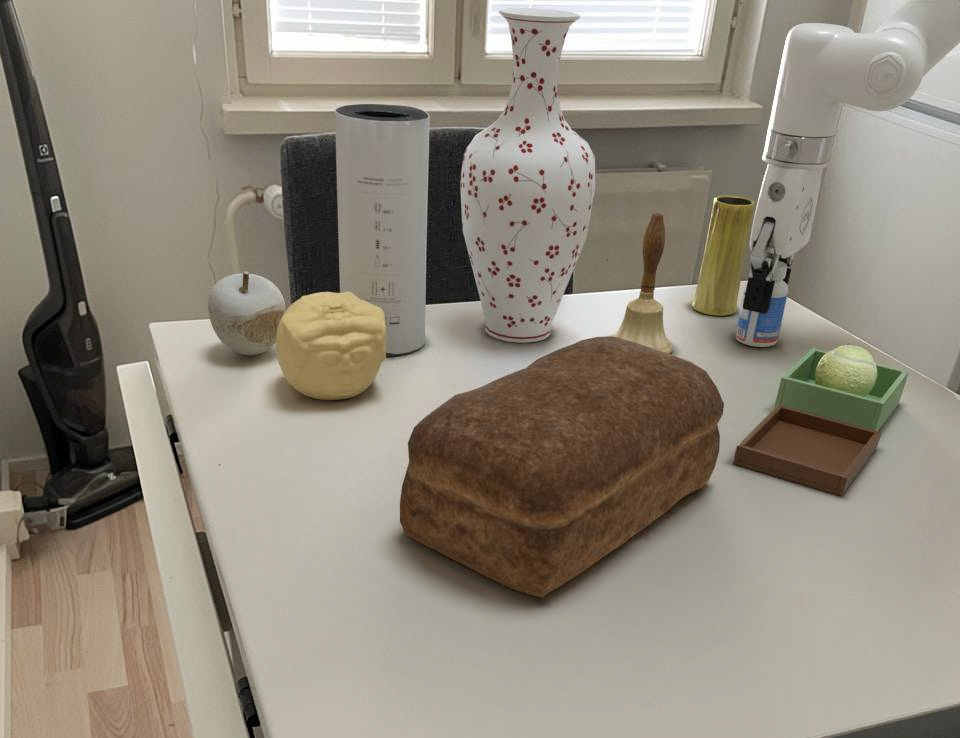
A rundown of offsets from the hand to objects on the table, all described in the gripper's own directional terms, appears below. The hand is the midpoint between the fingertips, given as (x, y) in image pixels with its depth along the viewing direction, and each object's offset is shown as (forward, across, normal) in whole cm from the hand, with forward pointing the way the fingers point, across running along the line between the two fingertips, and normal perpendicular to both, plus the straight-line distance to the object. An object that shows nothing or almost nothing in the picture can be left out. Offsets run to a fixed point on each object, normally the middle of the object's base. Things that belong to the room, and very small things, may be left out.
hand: (763, 302), depth 126 cm
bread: (+5, -54, -1) cm, 54 cm away
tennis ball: (+5, -15, -15) cm, 22 cm away
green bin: (+5, -15, -15) cm, 21 cm away
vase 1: (+5, -17, +26) cm, 31 cm away
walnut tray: (+5, -29, -16) cm, 33 cm away
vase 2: (+5, +8, +9) cm, 13 cm away
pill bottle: (+5, 0, 0) cm, 5 cm away
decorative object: (+5, -44, +47) cm, 65 cm away
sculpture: (+5, -46, +33) cm, 57 cm away
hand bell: (+5, -12, +11) cm, 17 cm away
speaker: (+5, -31, +37) cm, 49 cm away
